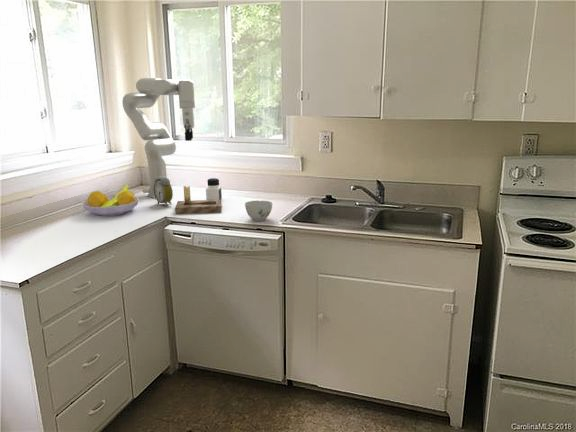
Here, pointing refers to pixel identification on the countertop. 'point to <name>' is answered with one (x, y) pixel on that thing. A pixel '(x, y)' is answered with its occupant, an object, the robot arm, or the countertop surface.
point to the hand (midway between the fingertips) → (189, 139)
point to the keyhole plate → (199, 207)
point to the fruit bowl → (110, 202)
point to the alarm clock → (163, 190)
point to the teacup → (258, 209)
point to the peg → (187, 195)
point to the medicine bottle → (213, 190)
